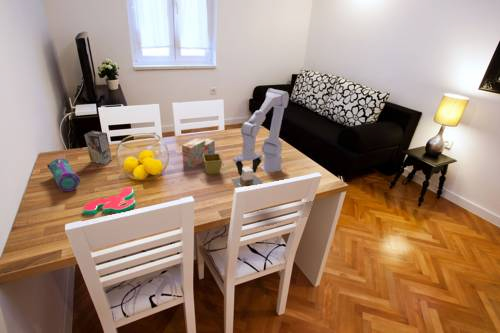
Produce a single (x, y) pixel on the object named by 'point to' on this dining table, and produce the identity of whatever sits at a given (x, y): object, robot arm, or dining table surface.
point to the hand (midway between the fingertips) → (247, 173)
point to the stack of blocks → (197, 151)
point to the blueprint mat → (255, 178)
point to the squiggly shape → (112, 203)
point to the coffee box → (98, 147)
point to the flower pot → (212, 163)
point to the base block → (246, 182)
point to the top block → (247, 173)
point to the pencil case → (64, 174)
